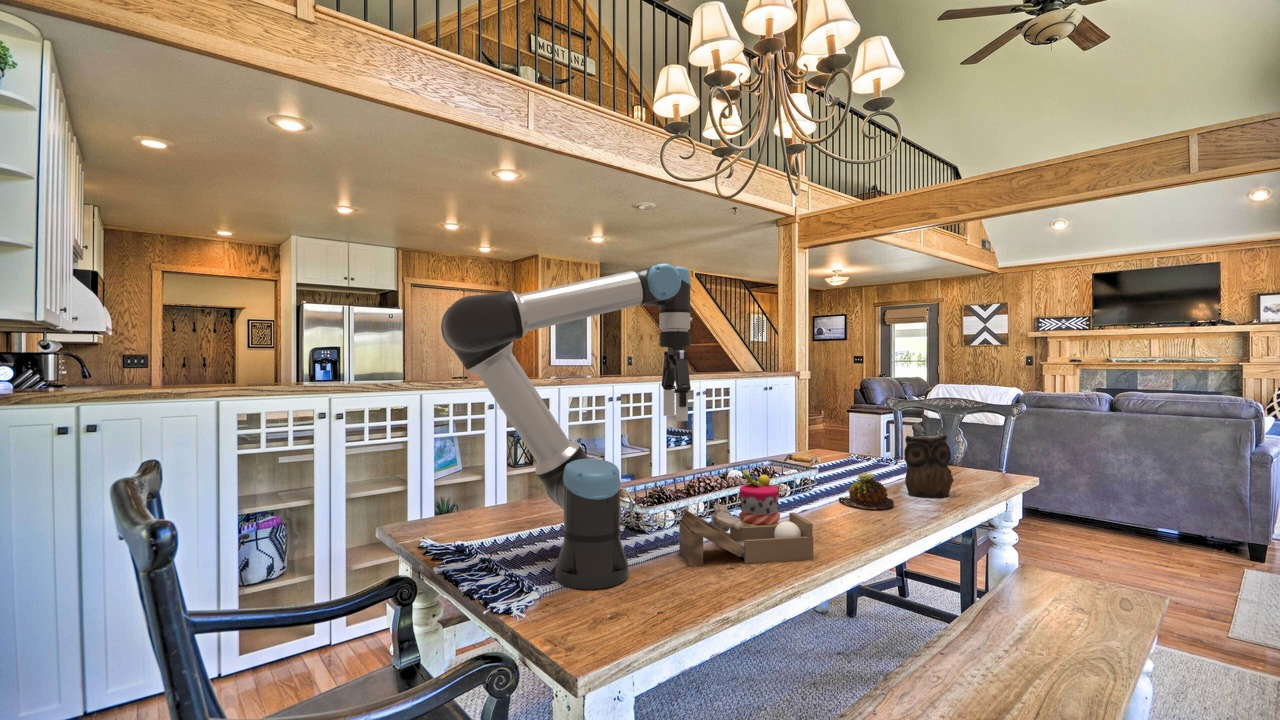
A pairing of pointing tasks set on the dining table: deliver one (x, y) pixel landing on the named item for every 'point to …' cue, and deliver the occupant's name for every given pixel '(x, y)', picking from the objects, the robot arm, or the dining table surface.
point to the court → (775, 542)
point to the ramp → (693, 535)
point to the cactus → (867, 494)
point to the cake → (759, 502)
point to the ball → (787, 530)
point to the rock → (724, 518)
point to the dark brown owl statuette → (927, 466)
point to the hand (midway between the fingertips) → (675, 418)
